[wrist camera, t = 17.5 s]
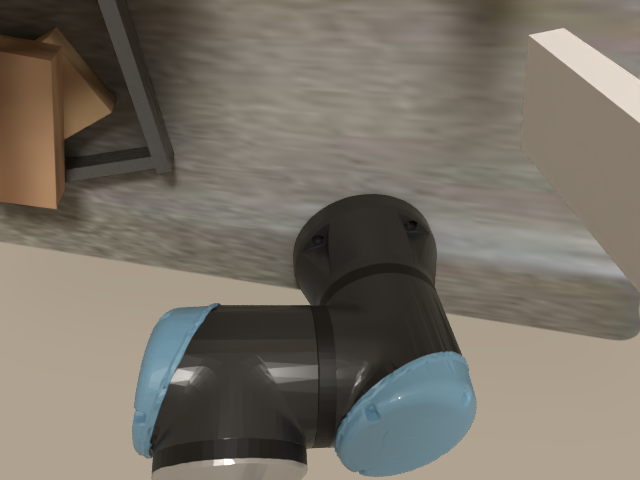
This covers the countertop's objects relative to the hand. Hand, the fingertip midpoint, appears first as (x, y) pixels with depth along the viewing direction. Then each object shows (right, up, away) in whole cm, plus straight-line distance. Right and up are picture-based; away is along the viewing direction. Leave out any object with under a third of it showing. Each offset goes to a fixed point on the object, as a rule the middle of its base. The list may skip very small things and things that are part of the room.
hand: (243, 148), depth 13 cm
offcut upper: (-23, +8, +33) cm, 41 cm away
